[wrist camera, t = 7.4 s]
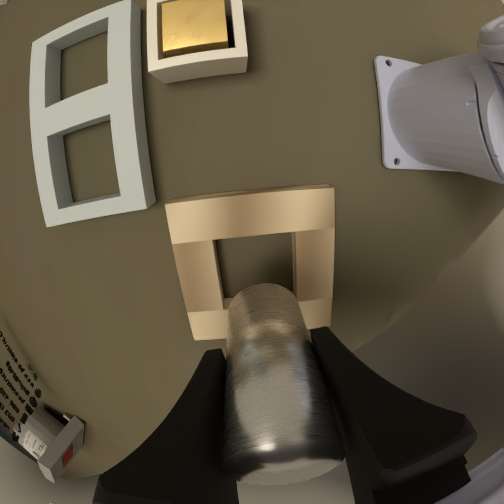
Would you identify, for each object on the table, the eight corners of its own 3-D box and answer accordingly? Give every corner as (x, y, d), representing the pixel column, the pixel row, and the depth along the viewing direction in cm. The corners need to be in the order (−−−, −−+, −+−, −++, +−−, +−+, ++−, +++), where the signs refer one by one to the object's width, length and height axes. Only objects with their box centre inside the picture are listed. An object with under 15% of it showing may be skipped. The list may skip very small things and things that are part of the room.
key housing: (239, 8, 12) (239, -17, 9) (246, 72, 14) (247, 56, 11) (162, 20, 12) (146, -2, 9) (165, 84, 14) (148, 71, 11)
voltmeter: (110, 448, 30) (96, 499, 21) (57, 435, 30) (41, 478, 21) (11, 302, 20) (-43, 360, 11) (-32, 303, 20) (-75, 346, 11)
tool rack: (140, 9, 12) (131, -2, 10) (156, 201, 17) (146, 208, 15) (47, 47, 12) (32, 42, 10) (61, 219, 17) (46, 227, 15)
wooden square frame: (326, 184, 17) (334, 187, 16) (325, 314, 21) (330, 325, 20) (170, 199, 17) (164, 204, 16) (196, 328, 21) (194, 340, 20)
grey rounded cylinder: (299, 279, 13) (356, 428, 5) (299, 337, 14) (336, 475, 7) (223, 286, 13) (211, 447, 5) (232, 344, 14) (232, 488, 7)
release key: (225, 15, 12) (223, -7, 9) (229, 57, 13) (227, 41, 11) (173, 23, 12) (161, 3, 9) (175, 65, 13) (163, 51, 10)
